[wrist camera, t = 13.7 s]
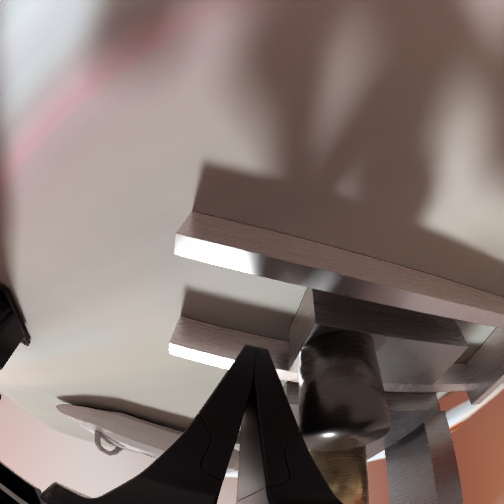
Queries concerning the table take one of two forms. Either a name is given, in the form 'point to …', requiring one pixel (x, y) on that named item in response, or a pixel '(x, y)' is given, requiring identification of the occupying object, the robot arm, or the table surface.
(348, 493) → the disc
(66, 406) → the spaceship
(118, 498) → the robot arm
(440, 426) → the press bed
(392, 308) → the sliding block with knob
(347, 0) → the table surface
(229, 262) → the guide rail
